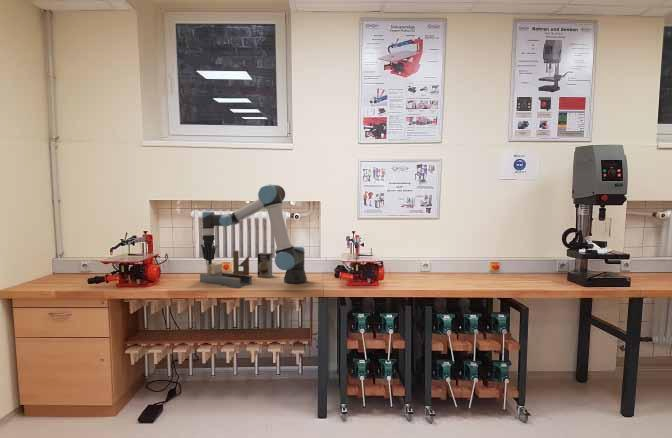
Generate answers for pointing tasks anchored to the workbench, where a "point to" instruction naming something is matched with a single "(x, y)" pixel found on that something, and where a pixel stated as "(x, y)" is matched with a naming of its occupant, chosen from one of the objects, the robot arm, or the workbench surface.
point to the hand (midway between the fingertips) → (208, 269)
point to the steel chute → (227, 279)
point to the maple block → (214, 269)
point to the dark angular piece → (236, 264)
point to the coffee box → (264, 265)
